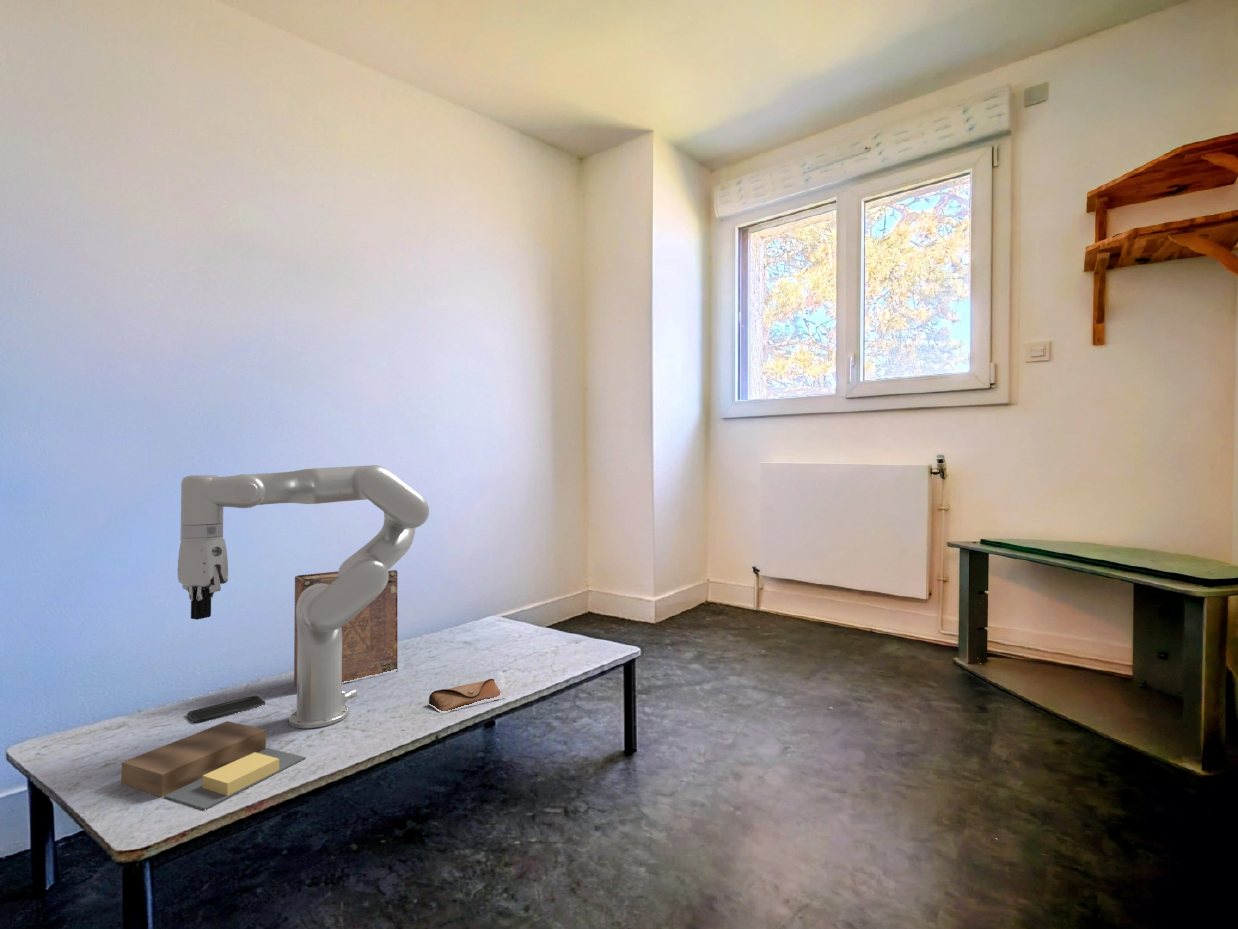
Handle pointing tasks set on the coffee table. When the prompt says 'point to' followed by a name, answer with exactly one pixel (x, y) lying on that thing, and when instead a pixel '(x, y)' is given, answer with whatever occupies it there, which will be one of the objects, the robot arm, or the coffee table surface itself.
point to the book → (361, 630)
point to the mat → (207, 798)
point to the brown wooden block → (191, 758)
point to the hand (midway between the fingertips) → (200, 617)
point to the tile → (240, 773)
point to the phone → (224, 709)
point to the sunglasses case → (463, 695)
